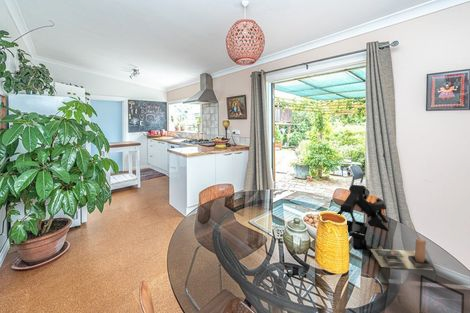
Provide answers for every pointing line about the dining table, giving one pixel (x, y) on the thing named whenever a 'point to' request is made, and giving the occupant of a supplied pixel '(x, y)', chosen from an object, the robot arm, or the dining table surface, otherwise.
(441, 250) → the dining table surface
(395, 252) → the pin board
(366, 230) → the robot arm
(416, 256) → the terracotta pin
